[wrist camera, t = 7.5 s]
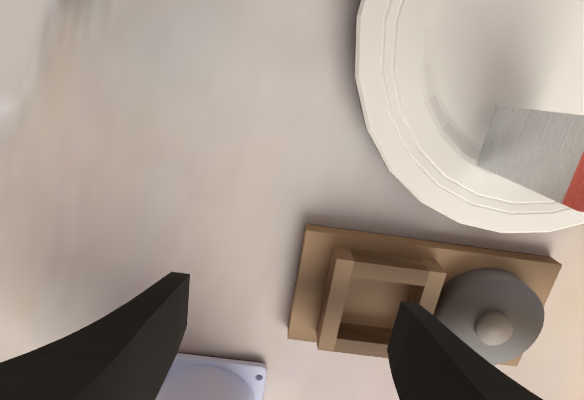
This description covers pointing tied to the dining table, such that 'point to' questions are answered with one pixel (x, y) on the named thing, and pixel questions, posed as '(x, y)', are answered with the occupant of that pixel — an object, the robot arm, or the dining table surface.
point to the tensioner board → (416, 292)
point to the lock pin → (538, 152)
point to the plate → (466, 97)
